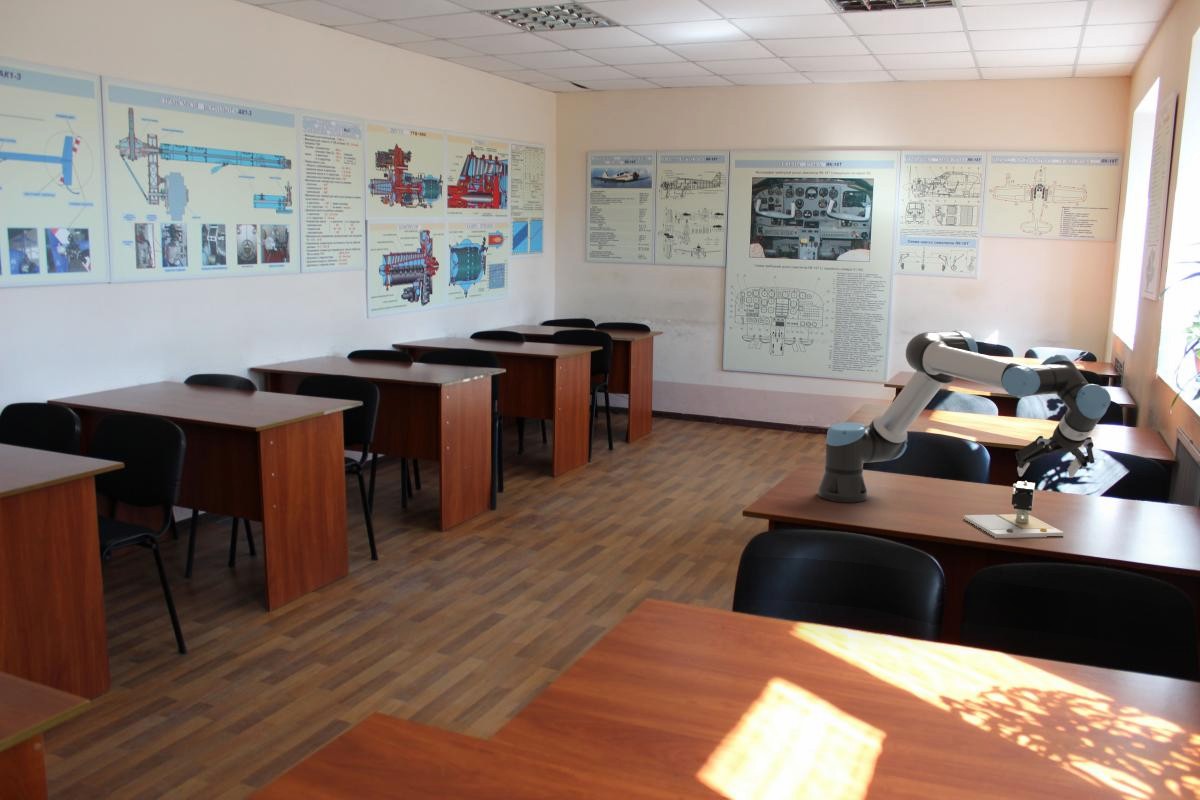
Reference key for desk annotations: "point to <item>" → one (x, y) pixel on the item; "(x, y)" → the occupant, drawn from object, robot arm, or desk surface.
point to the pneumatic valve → (1023, 500)
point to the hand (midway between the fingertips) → (1044, 472)
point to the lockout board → (1012, 526)
